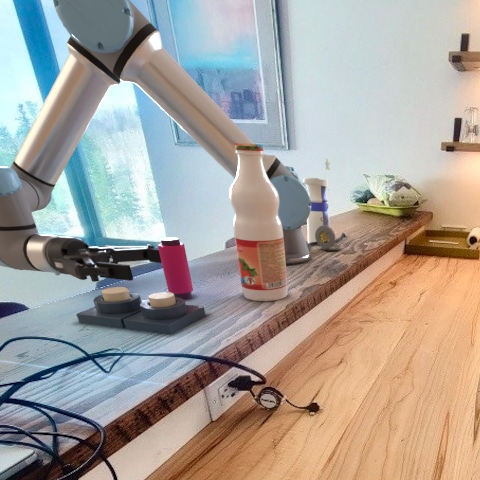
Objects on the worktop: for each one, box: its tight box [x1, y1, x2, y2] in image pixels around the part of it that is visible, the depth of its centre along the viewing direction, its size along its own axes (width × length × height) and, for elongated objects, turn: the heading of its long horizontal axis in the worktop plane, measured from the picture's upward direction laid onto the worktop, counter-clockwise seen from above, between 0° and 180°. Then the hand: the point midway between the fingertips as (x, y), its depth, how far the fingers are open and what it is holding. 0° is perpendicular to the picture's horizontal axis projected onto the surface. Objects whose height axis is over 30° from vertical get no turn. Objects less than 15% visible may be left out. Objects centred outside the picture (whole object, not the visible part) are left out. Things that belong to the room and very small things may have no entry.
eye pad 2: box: [147, 291, 176, 307], centre depth 73 cm, size 4×4×2 cm
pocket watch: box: [315, 217, 343, 252], centre depth 132 cm, size 8×8×10 cm
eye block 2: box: [123, 297, 206, 335], centre depth 75 cm, size 10×8×4 cm
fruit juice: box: [229, 143, 289, 302], centre depth 84 cm, size 9×9×28 cm
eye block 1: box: [76, 291, 147, 329], centre depth 76 cm, size 10×8×4 cm
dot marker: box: [157, 237, 194, 301], centre depth 84 cm, size 5×5×12 cm
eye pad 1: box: [101, 286, 130, 302], centre depth 75 cm, size 4×4×2 cm
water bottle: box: [302, 158, 331, 244], centre depth 137 cm, size 8×9×25 cm
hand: (155, 264), depth 85 cm, fingers open, 13 cm apart
